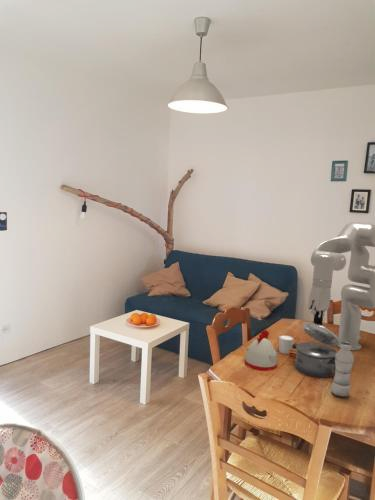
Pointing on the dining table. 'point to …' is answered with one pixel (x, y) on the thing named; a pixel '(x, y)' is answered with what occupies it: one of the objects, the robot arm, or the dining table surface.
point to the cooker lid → (321, 333)
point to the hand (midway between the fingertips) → (317, 325)
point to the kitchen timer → (261, 354)
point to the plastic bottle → (342, 370)
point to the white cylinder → (285, 344)
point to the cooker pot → (315, 359)
